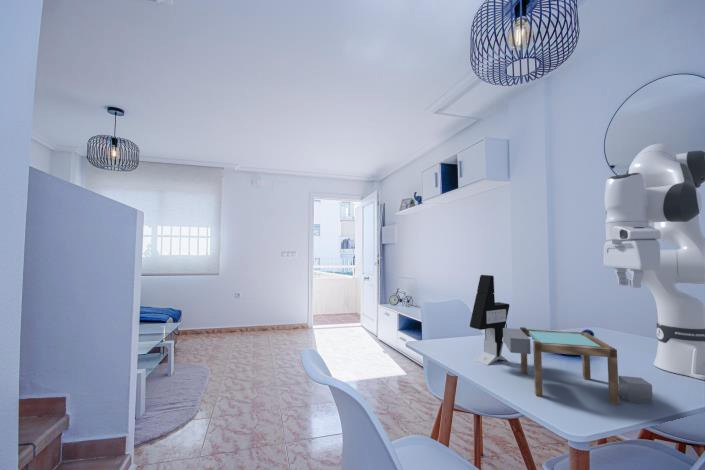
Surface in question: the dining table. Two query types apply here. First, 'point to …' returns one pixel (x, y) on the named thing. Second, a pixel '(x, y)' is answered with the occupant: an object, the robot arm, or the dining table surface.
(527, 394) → the dining table surface
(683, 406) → the dining table surface
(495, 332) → the award
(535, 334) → the trapdoor
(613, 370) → the frame
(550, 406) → the dining table surface
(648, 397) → the weight
